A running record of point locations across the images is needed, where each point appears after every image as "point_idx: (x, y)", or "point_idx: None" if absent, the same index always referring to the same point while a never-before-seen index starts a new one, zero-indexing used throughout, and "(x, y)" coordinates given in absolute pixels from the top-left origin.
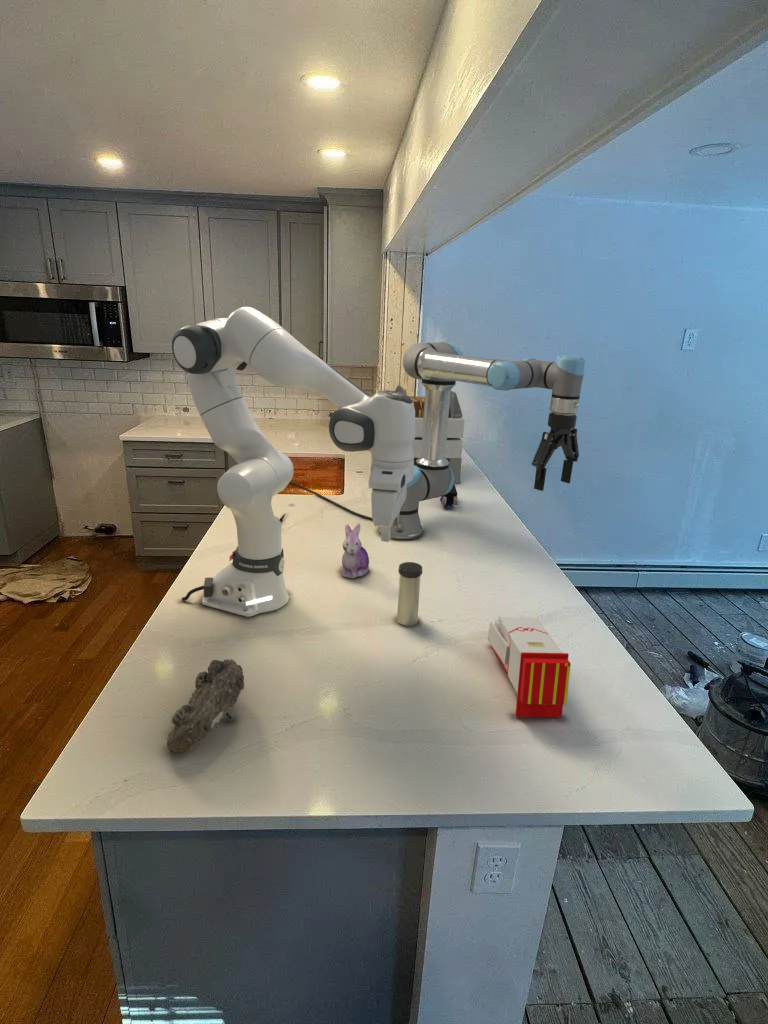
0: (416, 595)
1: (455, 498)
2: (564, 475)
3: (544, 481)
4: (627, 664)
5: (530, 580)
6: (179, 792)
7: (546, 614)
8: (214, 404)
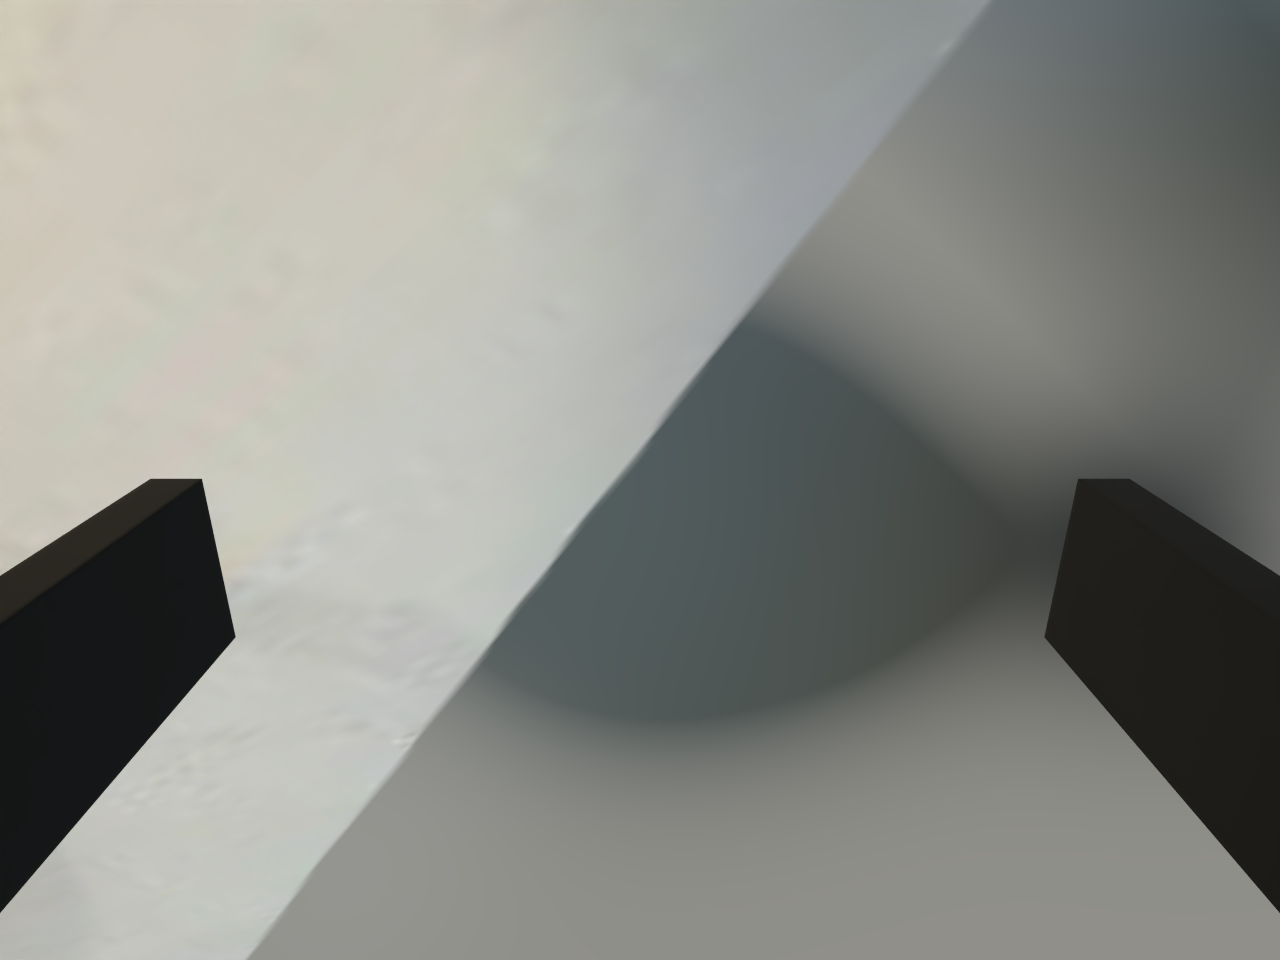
0: None
1: None
2: (1142, 607)
3: (130, 751)
4: (268, 923)
5: (498, 326)
6: None
7: (270, 594)
8: None
